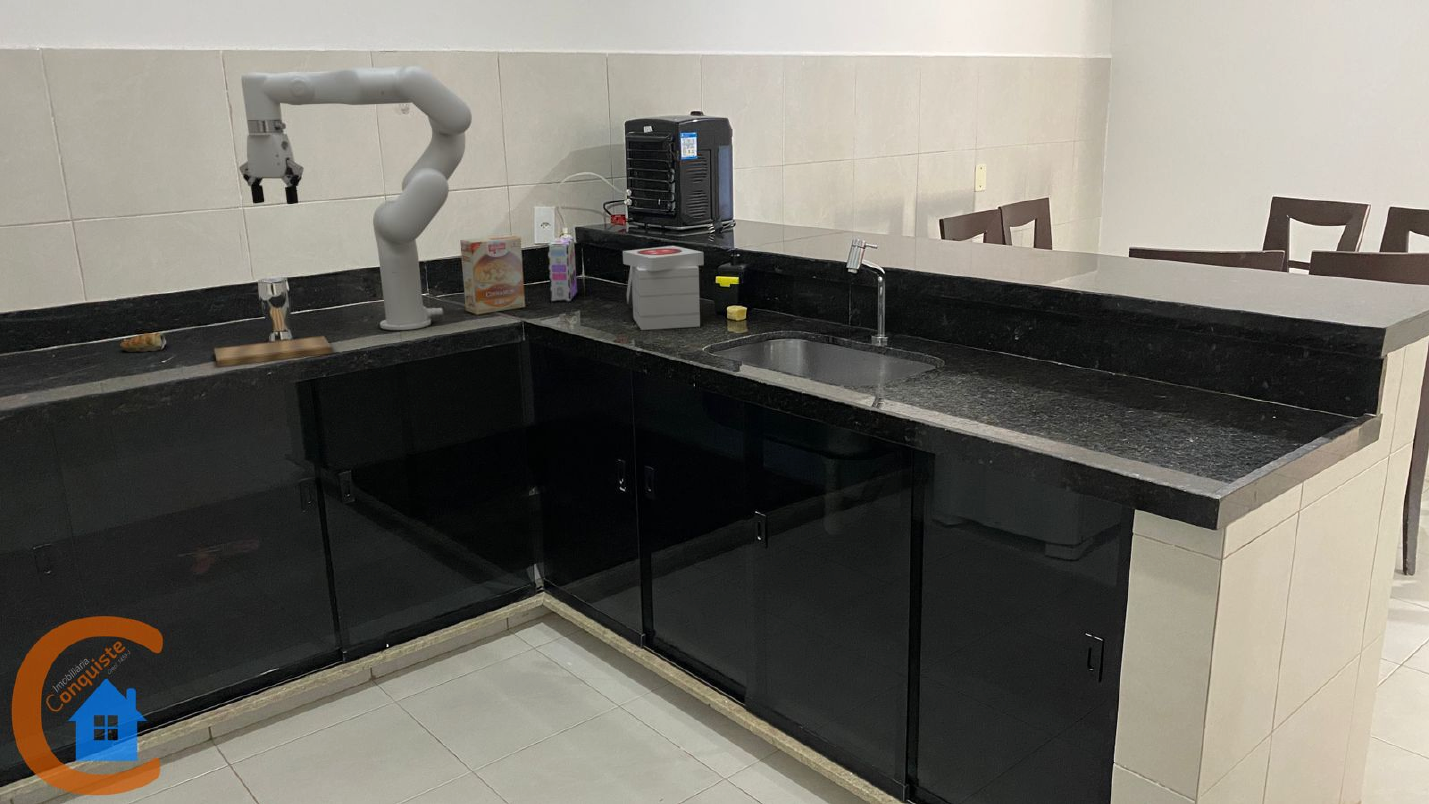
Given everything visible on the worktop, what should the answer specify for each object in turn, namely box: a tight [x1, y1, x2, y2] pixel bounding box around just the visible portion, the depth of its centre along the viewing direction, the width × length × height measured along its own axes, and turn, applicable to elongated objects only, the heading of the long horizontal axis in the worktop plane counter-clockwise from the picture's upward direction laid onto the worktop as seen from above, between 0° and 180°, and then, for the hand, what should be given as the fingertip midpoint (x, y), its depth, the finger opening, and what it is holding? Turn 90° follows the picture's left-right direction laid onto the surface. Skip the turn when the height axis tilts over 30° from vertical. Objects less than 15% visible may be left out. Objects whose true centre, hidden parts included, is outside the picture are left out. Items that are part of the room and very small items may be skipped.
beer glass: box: [257, 276, 296, 342], centre depth 246 cm, size 7×7×15 cm
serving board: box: [213, 335, 333, 368], centre depth 235 cm, size 24×13×2 cm, turn 118°
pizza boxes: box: [622, 245, 705, 331], centre depth 263 cm, size 19×30×18 cm, turn 12°
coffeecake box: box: [459, 234, 526, 316], centre depth 278 cm, size 15×7×20 cm, turn 129°
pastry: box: [119, 331, 167, 353], centre depth 242 cm, size 9×7×4 cm
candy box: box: [547, 237, 578, 302], centre depth 293 cm, size 14×6×16 cm, turn 179°
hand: (275, 203), depth 241 cm, fingers open, 9 cm apart
